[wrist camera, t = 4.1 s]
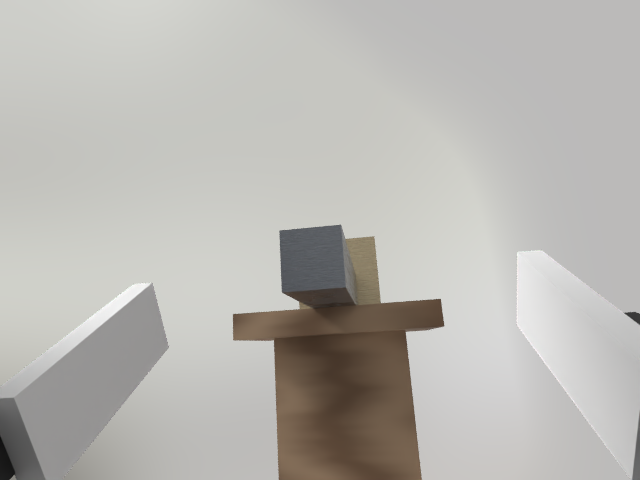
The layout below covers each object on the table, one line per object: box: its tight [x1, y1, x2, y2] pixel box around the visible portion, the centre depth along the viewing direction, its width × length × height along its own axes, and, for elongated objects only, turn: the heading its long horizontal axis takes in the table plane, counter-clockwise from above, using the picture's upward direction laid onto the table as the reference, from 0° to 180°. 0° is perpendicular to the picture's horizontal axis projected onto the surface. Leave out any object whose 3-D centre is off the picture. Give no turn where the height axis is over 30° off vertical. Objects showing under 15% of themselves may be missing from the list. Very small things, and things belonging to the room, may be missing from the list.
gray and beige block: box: [280, 225, 381, 309], centre depth 25 cm, size 6×16×5 cm, turn 173°
